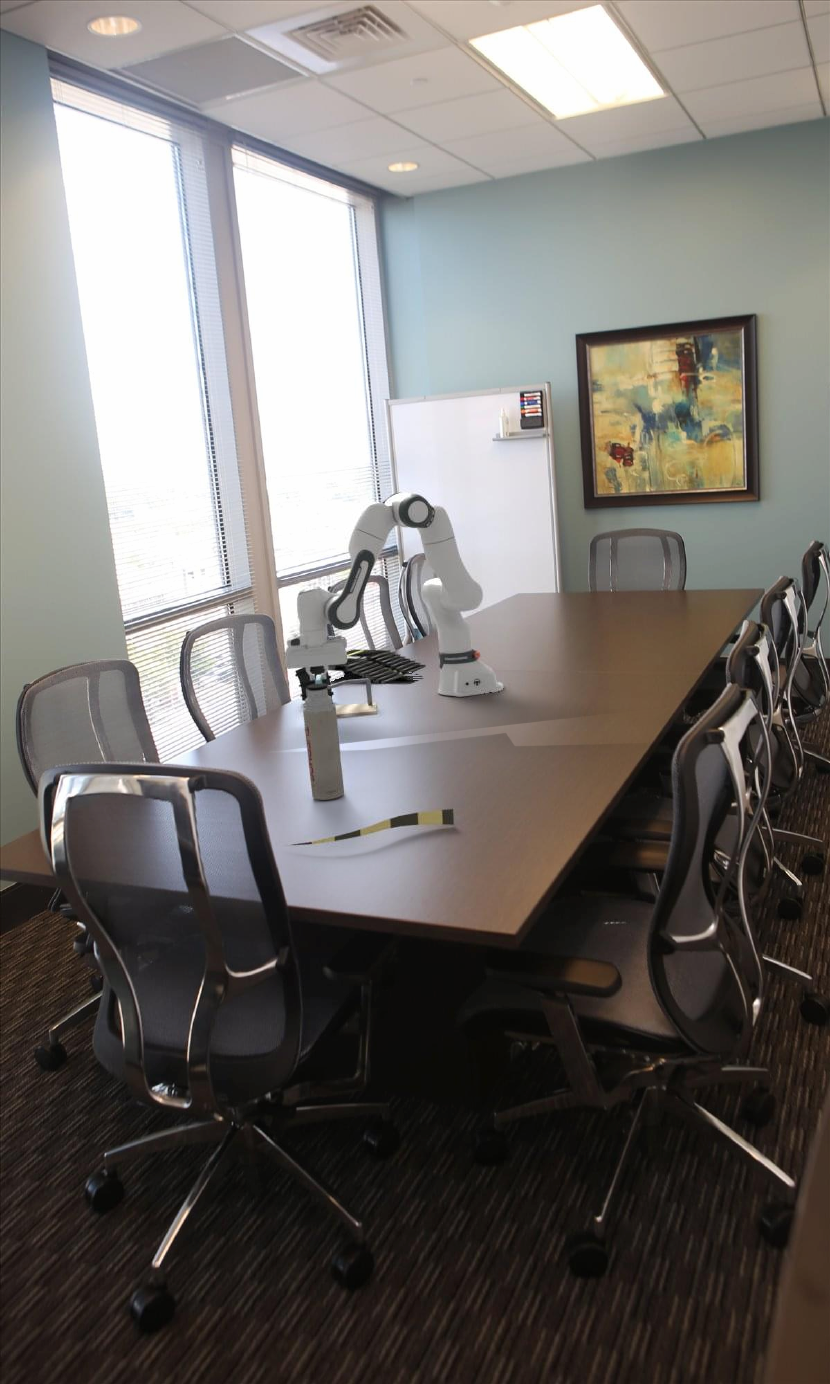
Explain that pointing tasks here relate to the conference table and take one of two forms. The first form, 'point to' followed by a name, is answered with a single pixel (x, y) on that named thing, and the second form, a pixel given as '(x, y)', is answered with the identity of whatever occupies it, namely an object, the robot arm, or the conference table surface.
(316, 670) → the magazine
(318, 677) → the light blue tall piece
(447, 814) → the tape
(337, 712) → the board
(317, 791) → the thermos bottle
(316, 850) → the conference table surface
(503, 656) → the conference table surface
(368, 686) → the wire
